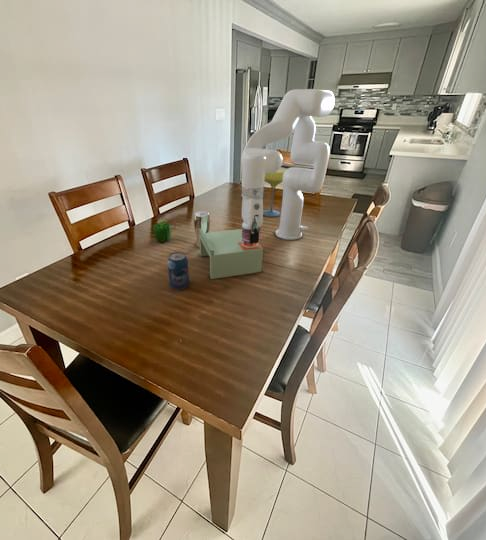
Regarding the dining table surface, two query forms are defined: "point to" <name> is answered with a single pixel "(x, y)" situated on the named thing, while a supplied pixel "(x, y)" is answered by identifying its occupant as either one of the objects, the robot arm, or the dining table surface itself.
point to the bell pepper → (162, 231)
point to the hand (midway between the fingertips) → (249, 237)
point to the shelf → (229, 254)
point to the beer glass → (201, 224)
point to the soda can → (178, 270)
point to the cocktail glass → (274, 181)
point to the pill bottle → (247, 235)
